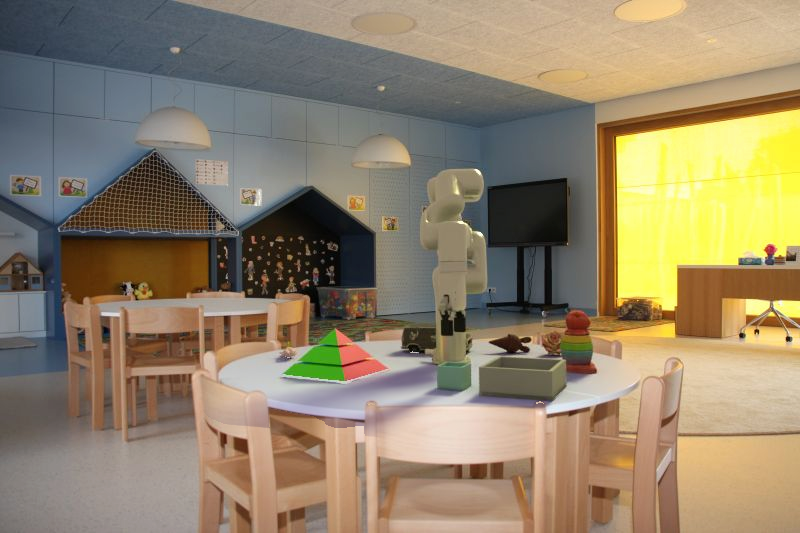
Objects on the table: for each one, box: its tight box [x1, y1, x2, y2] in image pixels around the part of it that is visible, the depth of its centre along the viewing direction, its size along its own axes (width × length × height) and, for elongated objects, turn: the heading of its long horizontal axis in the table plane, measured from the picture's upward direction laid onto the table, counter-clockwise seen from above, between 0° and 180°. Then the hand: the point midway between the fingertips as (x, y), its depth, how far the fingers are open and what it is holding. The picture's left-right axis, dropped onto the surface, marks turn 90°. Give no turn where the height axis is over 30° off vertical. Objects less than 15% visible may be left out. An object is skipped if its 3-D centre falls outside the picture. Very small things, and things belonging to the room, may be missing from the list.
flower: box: [540, 329, 564, 356], centre depth 222 cm, size 10×9×8 cm
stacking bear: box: [560, 309, 598, 374], centre depth 192 cm, size 11×10×18 cm
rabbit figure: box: [278, 341, 298, 358], centre depth 225 cm, size 6×6×15 cm
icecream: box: [488, 333, 533, 354], centre depth 228 cm, size 7×7×15 cm
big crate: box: [478, 355, 567, 402], centre depth 165 cm, size 18×18×7 cm
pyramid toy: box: [282, 327, 389, 381], centre depth 193 cm, size 25×25×14 cm
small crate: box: [436, 362, 472, 392], centre depth 171 cm, size 7×7×6 cm
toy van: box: [400, 322, 474, 353], centre depth 233 cm, size 11×25×10 cm, turn 73°
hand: (453, 333), depth 170 cm, fingers open, 9 cm apart
